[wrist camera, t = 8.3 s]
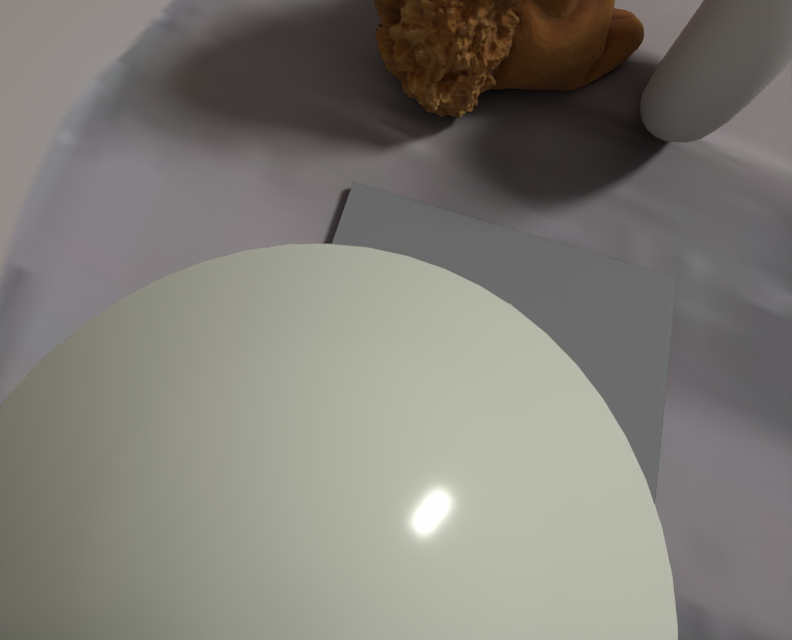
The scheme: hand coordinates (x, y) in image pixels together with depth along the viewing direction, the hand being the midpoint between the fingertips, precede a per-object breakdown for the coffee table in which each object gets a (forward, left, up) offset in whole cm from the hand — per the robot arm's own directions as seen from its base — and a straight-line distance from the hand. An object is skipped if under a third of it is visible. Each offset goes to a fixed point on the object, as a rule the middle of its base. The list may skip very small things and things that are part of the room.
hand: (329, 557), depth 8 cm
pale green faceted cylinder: (0, 0, -8) cm, 8 cm away
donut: (+21, -10, -9) cm, 25 cm away
